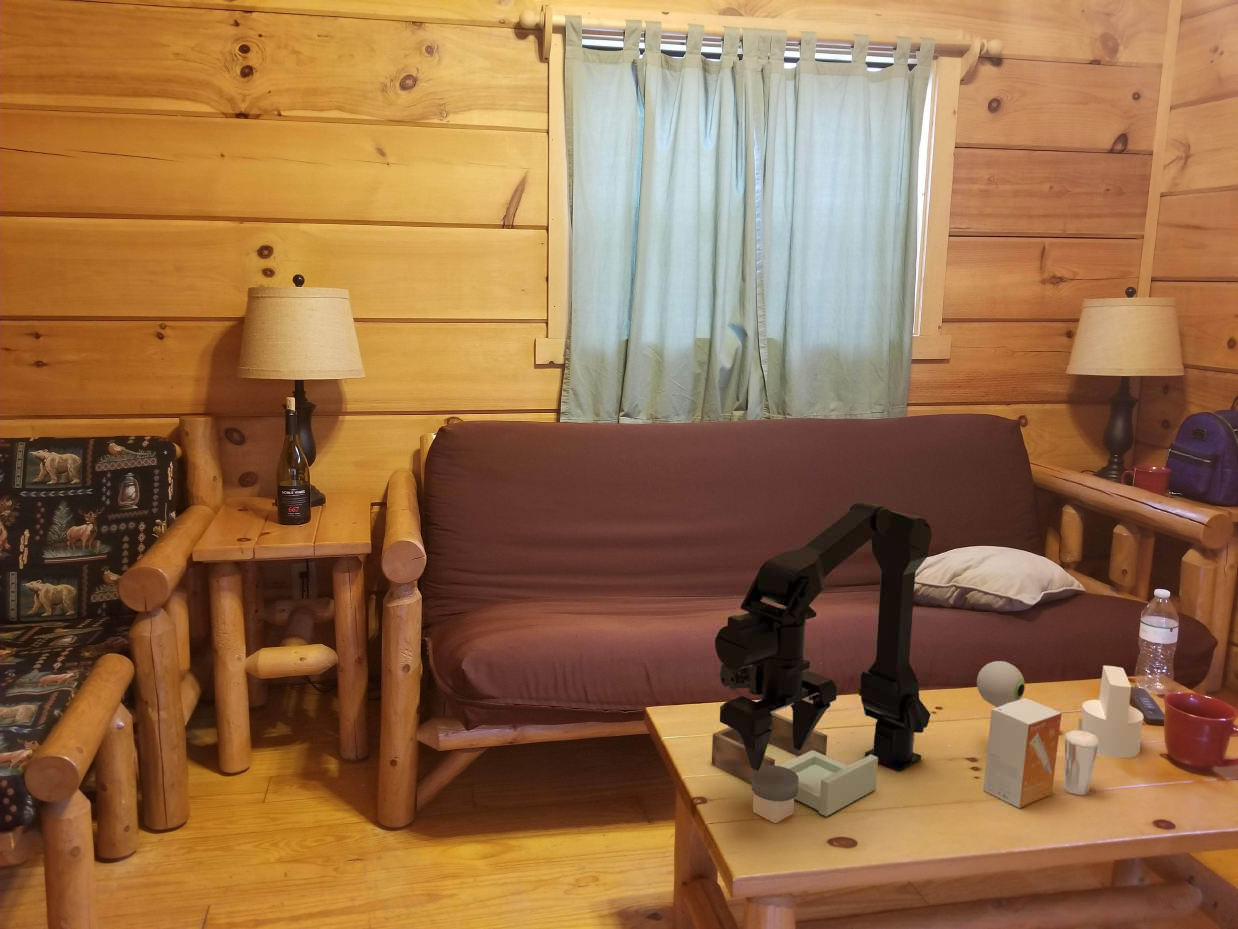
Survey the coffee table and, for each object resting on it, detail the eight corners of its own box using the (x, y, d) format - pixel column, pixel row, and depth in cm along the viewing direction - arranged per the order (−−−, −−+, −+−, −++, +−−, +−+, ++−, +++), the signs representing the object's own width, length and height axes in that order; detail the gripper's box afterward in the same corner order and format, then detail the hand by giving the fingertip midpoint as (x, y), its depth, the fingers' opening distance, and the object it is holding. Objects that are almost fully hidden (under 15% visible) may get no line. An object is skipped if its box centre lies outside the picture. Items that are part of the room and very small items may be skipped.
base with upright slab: (1143, 762, 157) (1152, 690, 155) (1081, 752, 160) (1089, 682, 158) (1134, 738, 166) (1142, 670, 163) (1075, 729, 168) (1083, 662, 166)
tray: (763, 785, 146) (765, 753, 145) (813, 761, 154) (815, 731, 153) (826, 816, 138) (828, 783, 137) (875, 789, 146) (878, 757, 145)
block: (771, 802, 142) (772, 779, 141) (793, 813, 139) (794, 790, 138) (752, 811, 139) (754, 788, 139) (775, 823, 136) (776, 800, 136)
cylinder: (771, 774, 143) (772, 761, 143) (807, 791, 138) (808, 778, 138) (741, 788, 139) (742, 774, 138) (777, 806, 134) (778, 792, 134)
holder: (711, 764, 153) (712, 733, 152) (767, 739, 162) (769, 710, 161) (769, 793, 145) (771, 761, 144) (825, 765, 153) (827, 735, 152)
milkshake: (1090, 783, 150) (1097, 721, 148) (1094, 800, 145) (1102, 736, 143) (1057, 778, 151) (1064, 716, 150) (1060, 794, 146) (1067, 730, 145)
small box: (1019, 810, 142) (1028, 724, 139) (982, 790, 147) (990, 708, 145) (1053, 795, 146) (1062, 712, 144) (1015, 777, 151) (1024, 696, 149)
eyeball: (1003, 766, 155) (1013, 674, 152) (962, 749, 160) (970, 661, 157) (1025, 752, 159) (1035, 664, 157) (984, 737, 165) (992, 651, 162)
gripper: (779, 622, 147) (774, 721, 150) (692, 651, 135) (688, 758, 138) (842, 643, 139) (835, 747, 142) (755, 676, 127) (749, 789, 129)
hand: (776, 759), depth 138 cm, fingers open, 9 cm apart
